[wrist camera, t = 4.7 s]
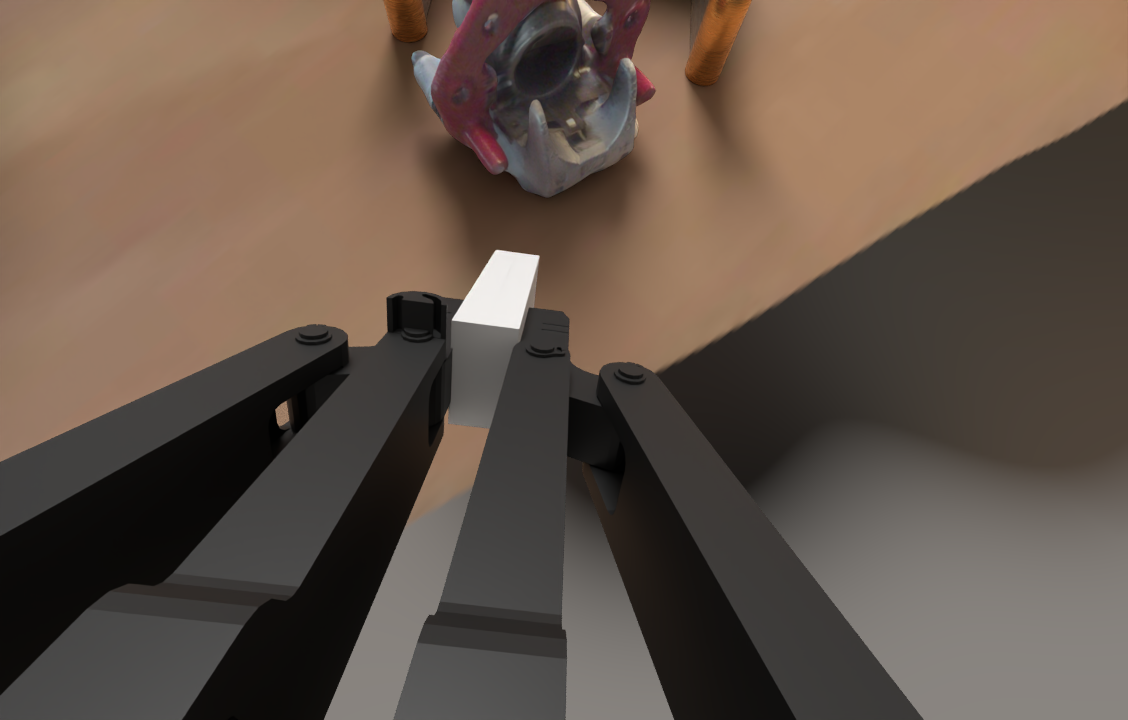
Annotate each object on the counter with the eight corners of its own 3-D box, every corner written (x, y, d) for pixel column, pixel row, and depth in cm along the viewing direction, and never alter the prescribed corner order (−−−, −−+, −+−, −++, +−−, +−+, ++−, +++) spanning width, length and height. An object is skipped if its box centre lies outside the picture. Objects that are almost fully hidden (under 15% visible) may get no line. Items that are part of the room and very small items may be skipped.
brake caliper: (522, 252, 21) (380, -119, 14) (443, 202, 29) (328, -47, 22) (718, 145, 24) (688, -213, 16) (596, 127, 32) (539, -118, 25)
